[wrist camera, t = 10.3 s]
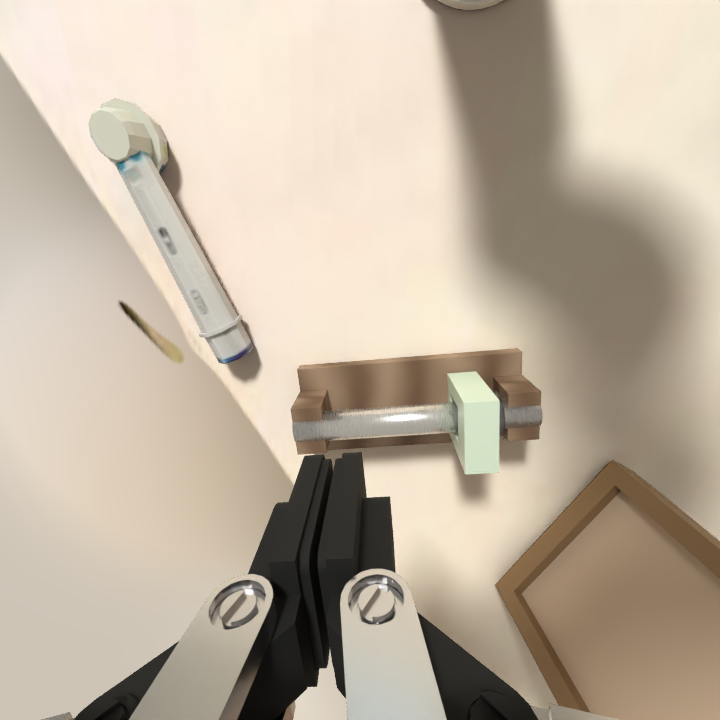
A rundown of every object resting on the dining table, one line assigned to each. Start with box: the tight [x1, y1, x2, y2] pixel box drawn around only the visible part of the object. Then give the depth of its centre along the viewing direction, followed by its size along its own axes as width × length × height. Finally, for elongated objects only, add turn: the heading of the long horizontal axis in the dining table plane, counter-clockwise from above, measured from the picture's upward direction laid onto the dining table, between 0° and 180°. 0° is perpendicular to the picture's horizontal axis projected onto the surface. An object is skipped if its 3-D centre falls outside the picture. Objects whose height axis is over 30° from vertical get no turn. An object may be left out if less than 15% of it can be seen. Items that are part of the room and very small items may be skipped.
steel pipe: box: [293, 390, 542, 442], centre depth 38 cm, size 24×5×5 cm, turn 95°
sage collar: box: [447, 371, 500, 475], centre depth 37 cm, size 3×7×8 cm, turn 5°
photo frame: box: [496, 460, 720, 720], centre depth 36 cm, size 15×22×25 cm
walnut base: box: [291, 348, 541, 454], centre depth 40 cm, size 24×10×6 cm, turn 95°
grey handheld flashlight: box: [89, 98, 254, 364], centre depth 37 cm, size 5×7×25 cm
